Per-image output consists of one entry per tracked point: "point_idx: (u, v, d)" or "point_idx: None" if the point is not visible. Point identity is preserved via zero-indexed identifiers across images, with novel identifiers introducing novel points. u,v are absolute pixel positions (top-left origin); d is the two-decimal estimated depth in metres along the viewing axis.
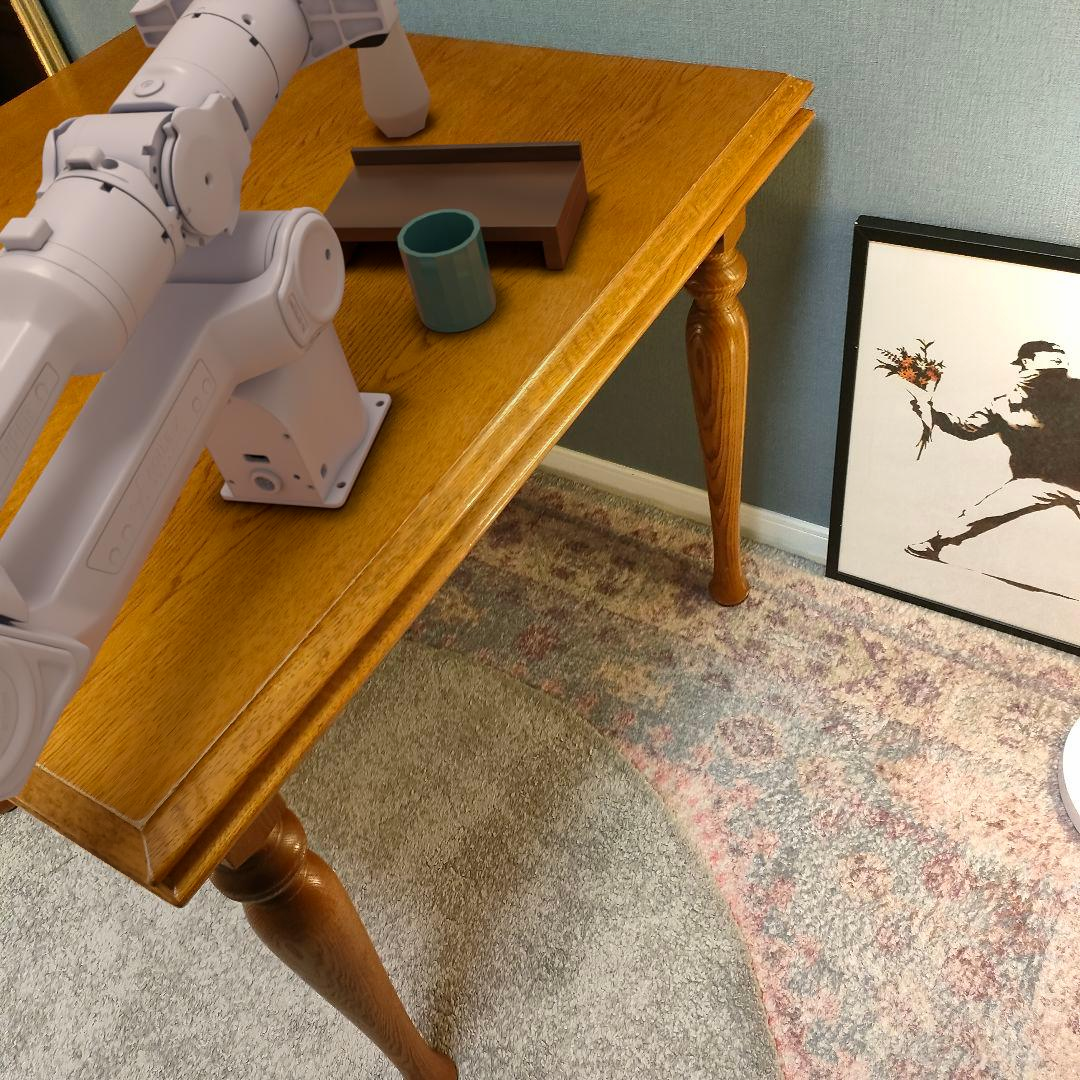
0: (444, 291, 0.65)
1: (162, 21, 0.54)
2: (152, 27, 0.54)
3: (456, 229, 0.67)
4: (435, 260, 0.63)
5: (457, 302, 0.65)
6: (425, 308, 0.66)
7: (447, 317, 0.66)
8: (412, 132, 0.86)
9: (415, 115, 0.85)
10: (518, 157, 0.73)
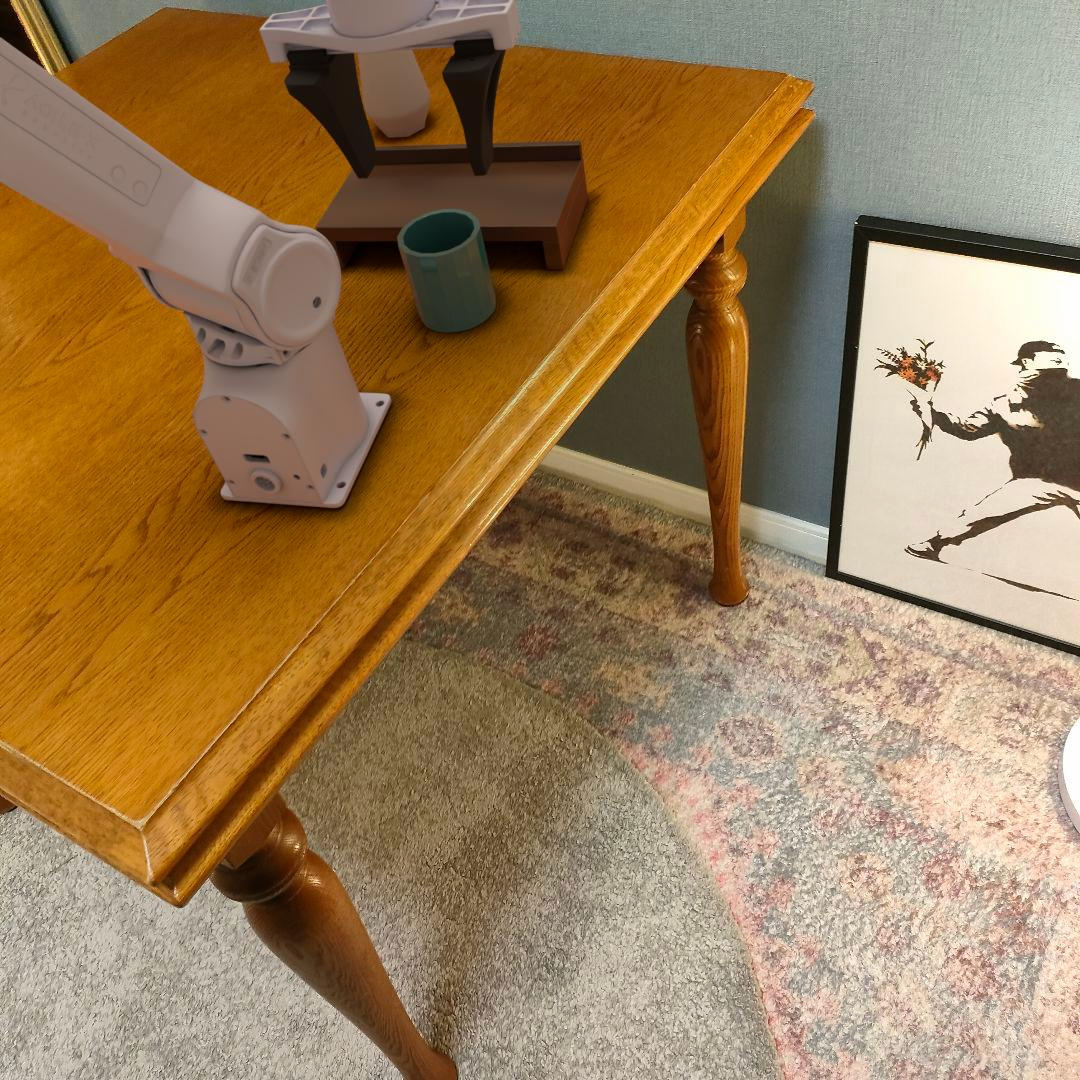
0: (444, 291, 0.65)
1: None
2: (281, 19, 0.56)
3: (456, 229, 0.67)
4: (435, 260, 0.63)
5: (457, 302, 0.65)
6: (425, 308, 0.66)
7: (447, 317, 0.66)
8: (412, 132, 0.86)
9: (415, 115, 0.85)
10: (518, 157, 0.73)
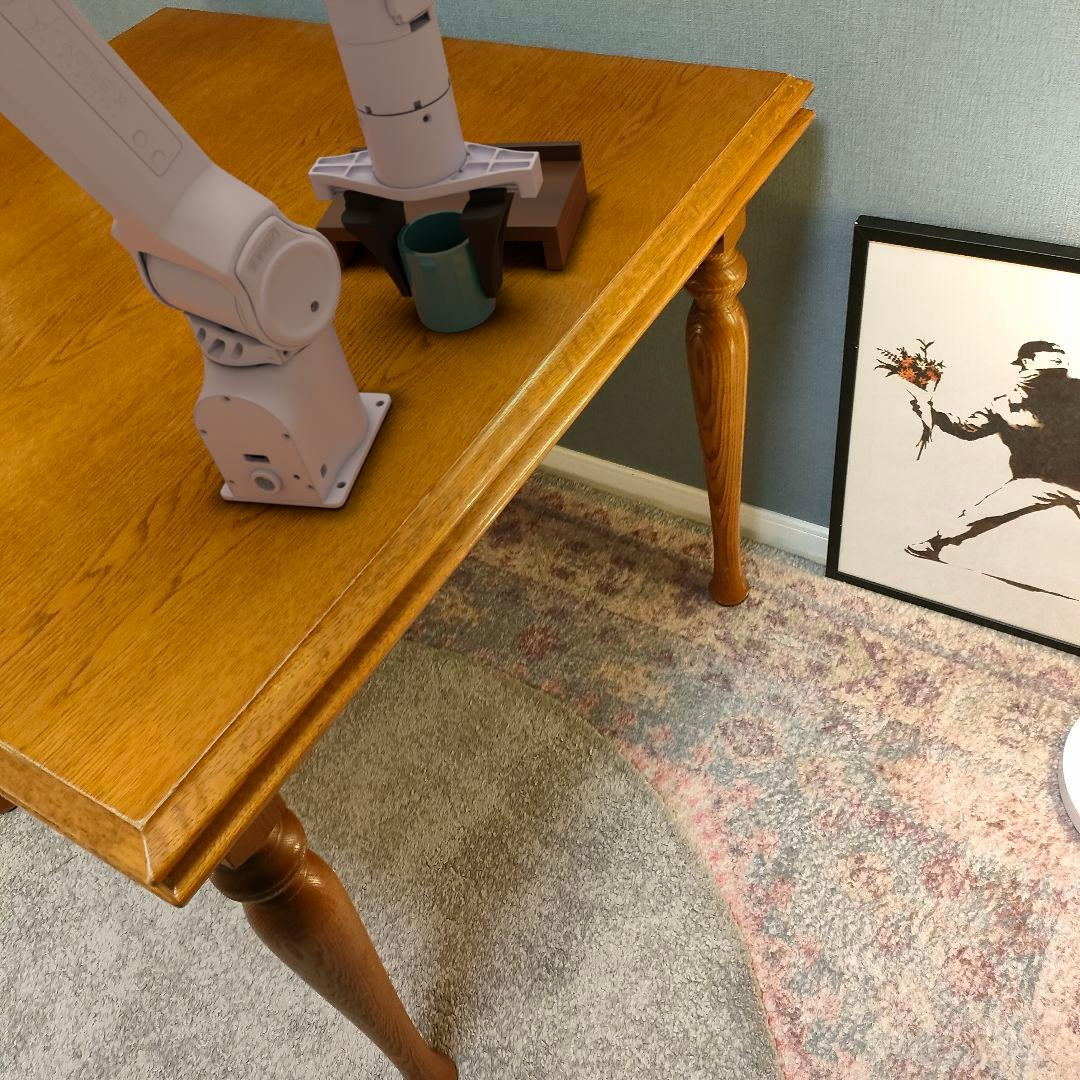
0: (443, 291, 0.65)
1: None
2: (327, 163, 0.63)
3: (456, 229, 0.67)
4: (434, 260, 0.63)
5: (456, 302, 0.65)
6: (424, 308, 0.66)
7: (446, 317, 0.66)
8: None
9: None
10: None
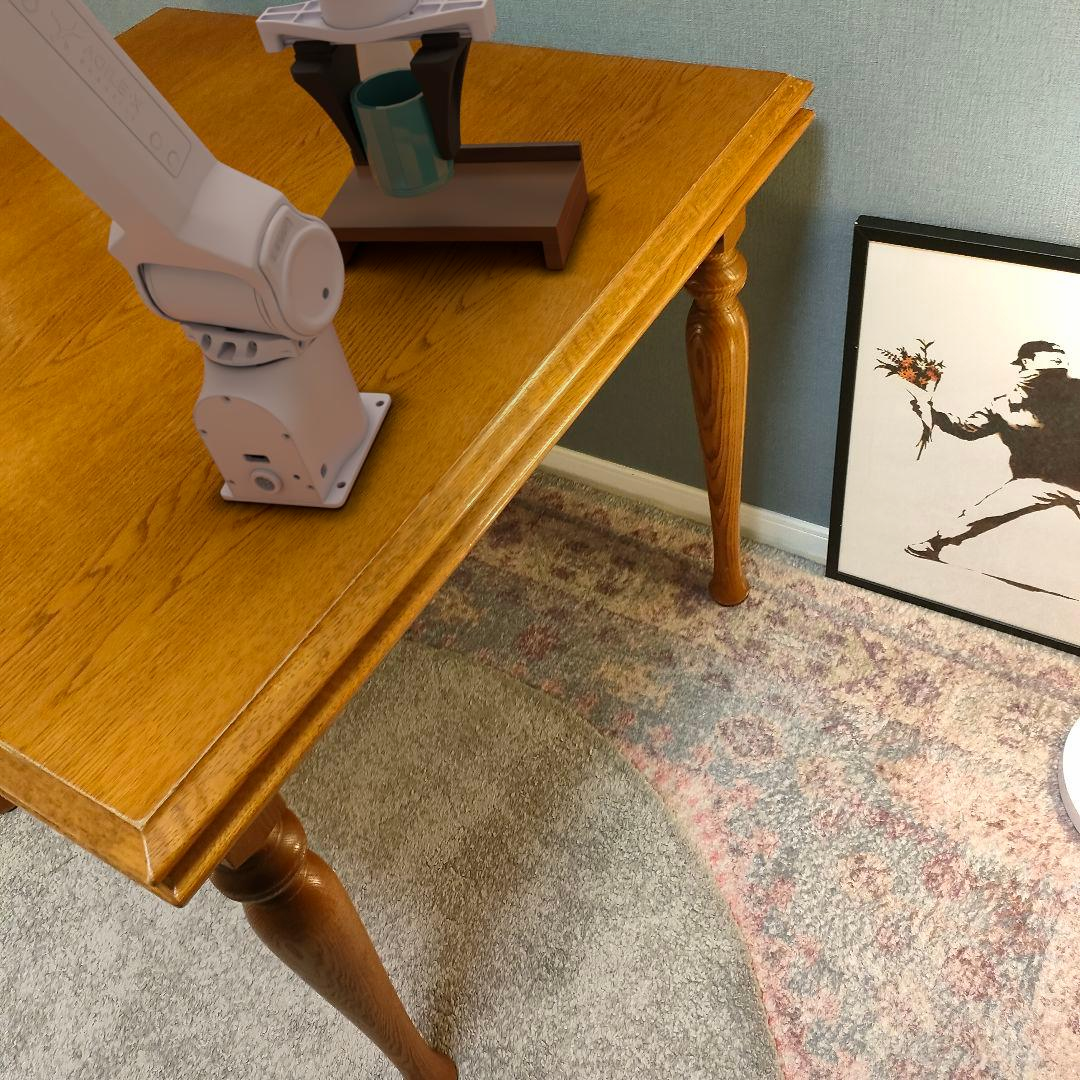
0: (397, 149, 0.63)
1: None
2: (276, 12, 0.60)
3: (412, 90, 0.65)
4: (387, 113, 0.61)
5: (412, 162, 0.63)
6: (379, 170, 0.64)
7: (402, 179, 0.64)
8: None
9: None
10: (518, 157, 0.73)
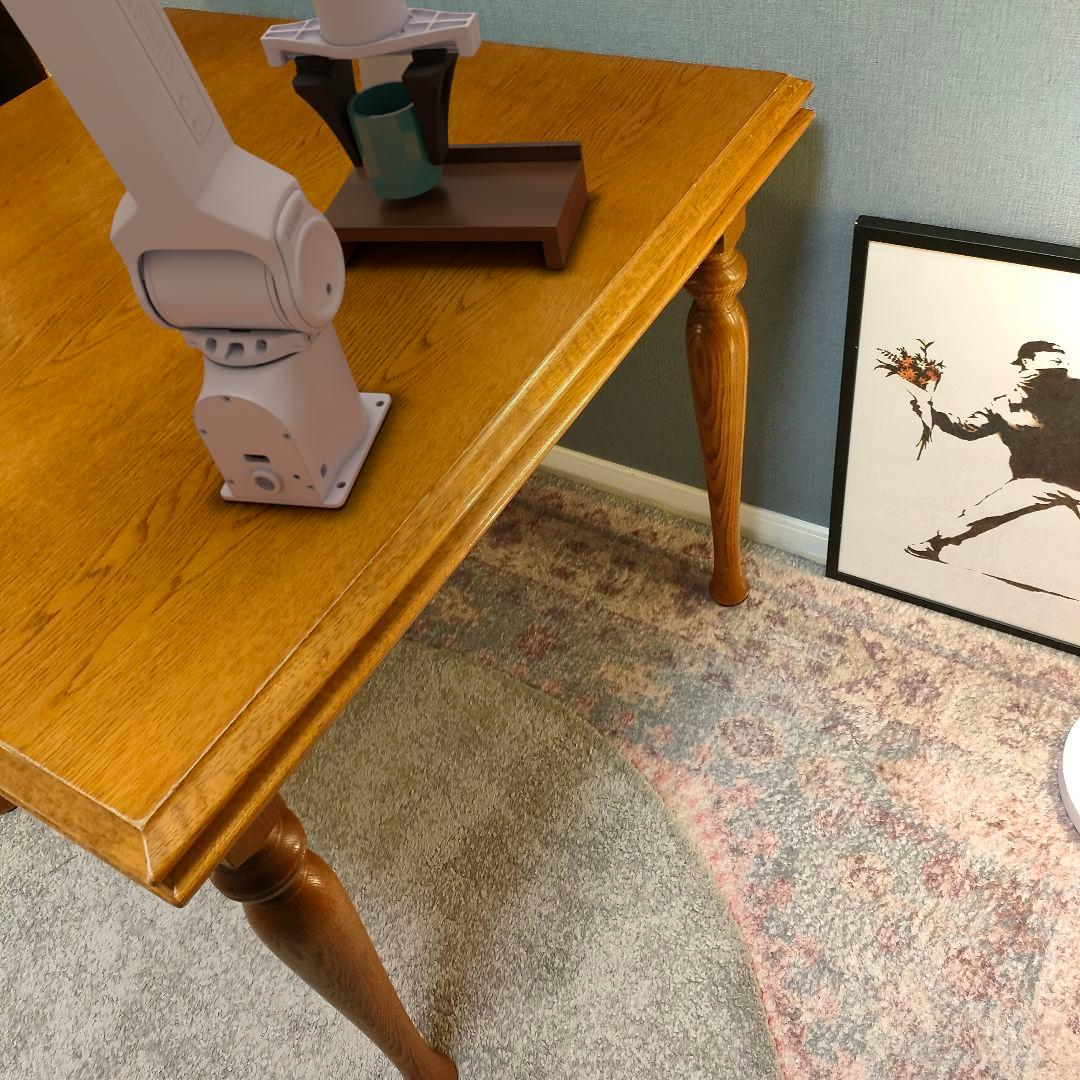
0: (390, 155, 0.68)
1: None
2: (279, 30, 0.66)
3: (404, 100, 0.70)
4: (381, 122, 0.66)
5: (403, 167, 0.69)
6: (374, 174, 0.70)
7: (395, 182, 0.70)
8: None
9: None
10: (518, 157, 0.73)
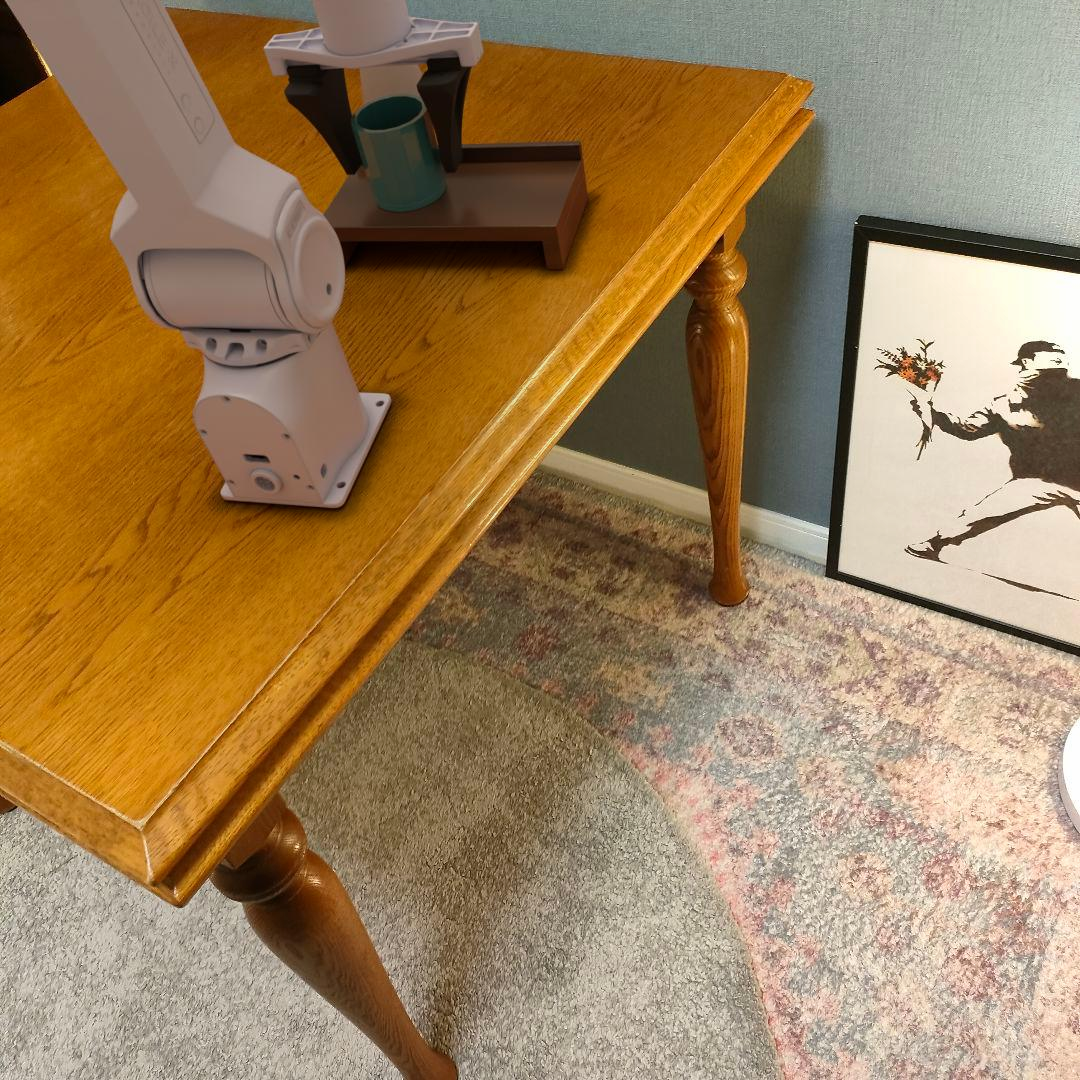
0: (394, 168, 0.69)
1: None
2: (282, 39, 0.67)
3: (408, 114, 0.71)
4: (385, 136, 0.67)
5: (407, 180, 0.70)
6: (378, 187, 0.71)
7: (398, 195, 0.71)
8: None
9: None
10: (518, 157, 0.73)
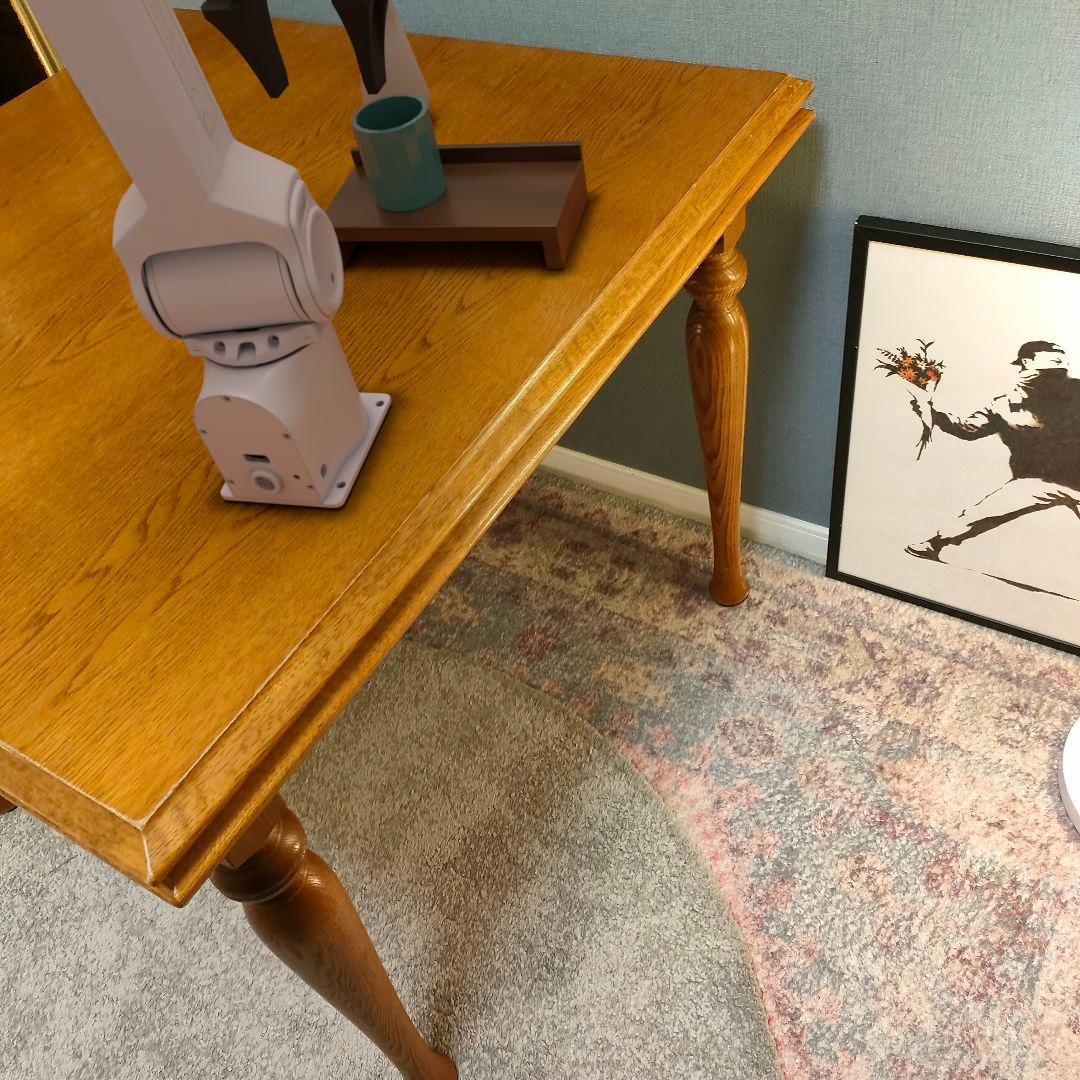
0: (394, 168, 0.69)
1: None
2: None
3: (408, 114, 0.71)
4: (385, 136, 0.67)
5: (407, 180, 0.70)
6: (378, 187, 0.71)
7: (398, 195, 0.71)
8: None
9: None
10: (518, 157, 0.73)
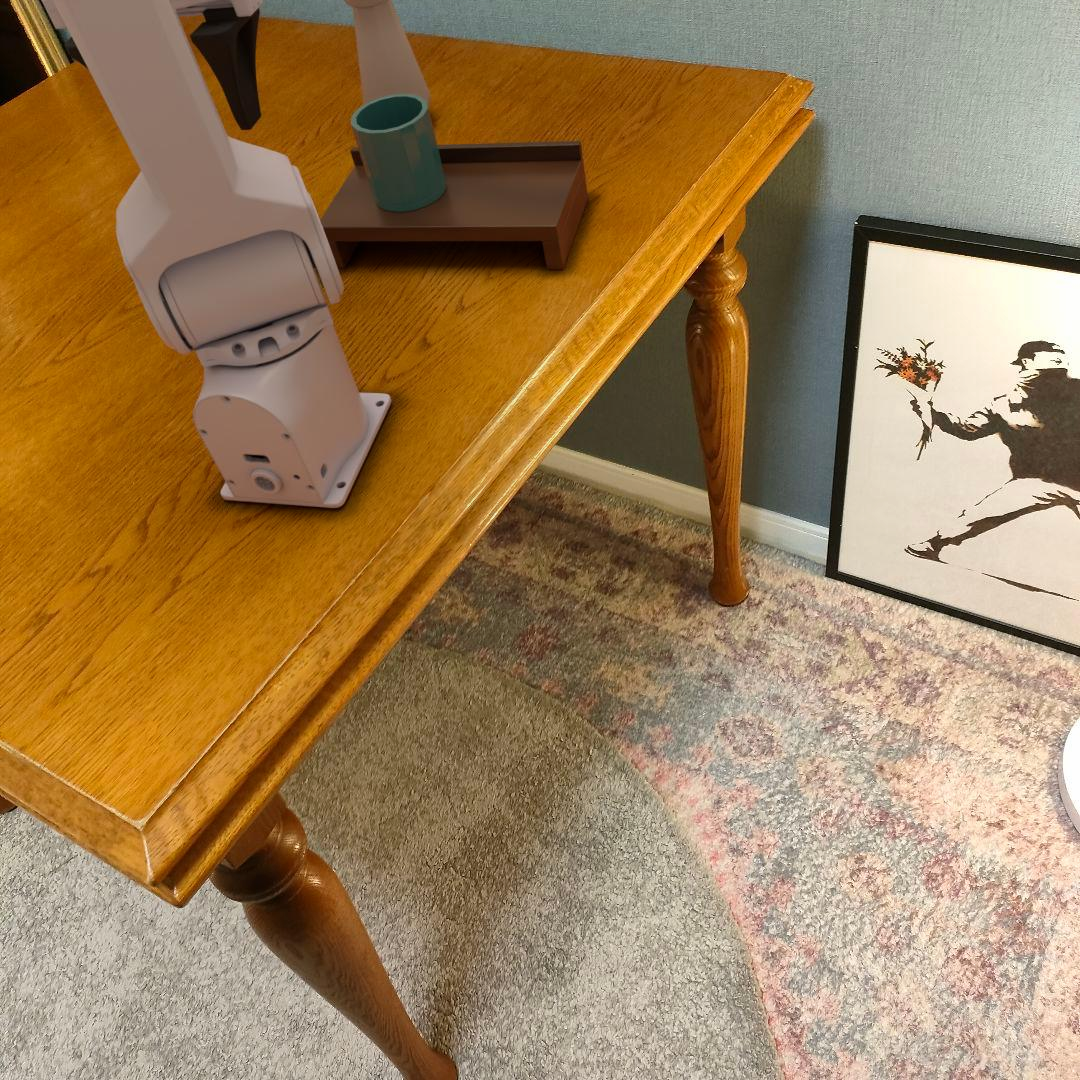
0: (394, 168, 0.69)
1: None
2: None
3: (408, 114, 0.71)
4: (385, 136, 0.67)
5: (407, 180, 0.70)
6: (378, 187, 0.71)
7: (398, 195, 0.71)
8: None
9: None
10: (518, 157, 0.73)
